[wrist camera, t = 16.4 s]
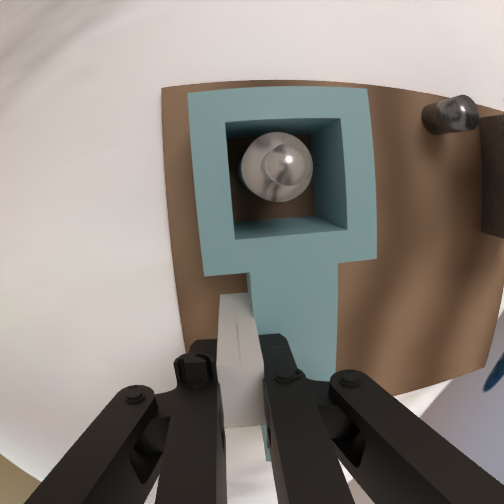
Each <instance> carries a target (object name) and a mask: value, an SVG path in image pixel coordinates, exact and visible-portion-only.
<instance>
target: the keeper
mask: <svg viewBox="0 0 504 504" xmlns="http://www.w3.org/2000/svg"><path fill="white" fill-rule="evenodd" d="M421 118H422V123H423V125H424V127H425V129H426V130H427V131H428V132H429V133H431V134H433V135H441V134H448V133H455V132H463V131H471V130H474V129H476V128H477V126H478V124H479V130H480V142H481V160H482V218H481V232H482V233H486V234H489V235H493V236H496V237H499V238H503V239H504V114H501V115H494V116H488V117H481V118H479V111H478V108H477V106H476V104H475V103H474V101H473V100H472V99H471V98H470V97H468V96H466V95H460V96H456V97H452V98H449V99H445V100H442V101H439V102H435V103H432V104H429V105H426V106H425V107H424V108H423V110H422V113H421Z"/></svg>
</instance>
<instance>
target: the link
mask: <svg viewBox="0 0 504 504" xmlns="http://www.w3.org/2000/svg"><path fill="white" fill-rule="evenodd" d="M187 94H188V111H189V126H190V139H191V152H192V164H193V176H194V187H195V197H196V207H197V217H198V227H199V236H200V245H201V253H202V262H203V270H204V277H205V276H216V275H227V274H237V273H246V276H247V288H248V293H249V295H250V300H251V306H252V311H253V317H254V318H255V322H256V327H257V332H258V335H265V334H277V333H280V334H281V335H283V336H284V337H285V338H287V341H288V344H289V346H290V349H291V352H292V354H293V357H294V360H295V363H296V365H297V368H298V369H300V370H302V371H303V372H304V374H305V375H306V378H308V379H311V380H316V381H330V377H331V376H332V375H333V374H334V373H335V369H336V347H337V313H338V263H344V262H353V261H362V260H371V259H377V209H376V182H375V165H374V151H373V139H372V128H371V118H370V110H369V101H368V93H367V89H364V88H349V87H326V86H273V87H250V88H234V89H222V90H211V91H202V92H193V93H187ZM272 132H282V133H287V134H290V135H297V134H309V135H310V147H311V158H312V162H313V188H314V205H315V215H314V216H301V217H288V218H276V219H264V220H253V221H242V222H233V213H232V201H231V190H230V178H229V166H228V154H227V142H226V139H230V138H242V137H256V136H262V135H265V134H267V133H272ZM261 427H262V434H263V441H264V448H265V454H266V461H271V457H270V451H269V448H267V424H266V425H261Z"/></svg>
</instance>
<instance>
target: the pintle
mask: <svg viewBox="0 0 504 504" xmlns="http://www.w3.org/2000/svg"><path fill="white" fill-rule="evenodd" d="M312 173H313V162H312V158H311V155H310V152H309V151H308V149H307V147H306V146H305V145H304V144H303V143H302V142H301V141H300V140H299V139H298V138H296V137H294V136H292V135H290V134H287V133H282V132H272V133H267V134H265V135H262V136H260V137H259V138H257V139H256V140H255V141H254V142H252V144H251V145H250V146H249V147H248V149H247V151H246V152H245V154H244V155H243V157H242V159H241V160H240V163H239V166H238V176H239V179H240V182H241V183H242V185H243V186H244V187H245V188H246V189H247V190H249V191H251V192H252V193H254V194H256V195H258V196H259V197H261V198H263V199H265V200H268V201H273V202H284V201H288V200H291V199H294V198H295V197H297V196H299V195H300V194H301V193H302V192H303V191H304V190H305V189H306V188H307V186H308V184H309V183H310V180H311V177H312Z"/></svg>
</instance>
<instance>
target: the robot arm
mask: <svg viewBox="0 0 504 504" xmlns="http://www.w3.org/2000/svg"><path fill="white" fill-rule="evenodd" d="M173 364H174V369H175V374H176V379H177V388H176V389H174V390H172V391H169V392H165V393H161V394H154V391H153V390H152V389H151V388H150V387H147V386H144V385H133V386H128V387H126V388H124V389H122V390H120V391H119V392H118V393H117V394H116V395H115V396H114V398H113V399H112V400H111V401H110V402H109V403H108V405H107V406H106V407H105V408H104V409H103V410H102V412H101V413H100V414H99V415H98V416H97V417H96V419H95V420H94V421H93V422H92V423H91V425H90V426H89V427H88V428H87V429H86V430H85V432H84V433H83V434H82V435H81V436H80V437H79V439H78V440H77V441H76V442H75V443H74V445H73V446H72V447H71V448H70V449H69V450H68V452H67V453H66V454H65V455H64V456H63V458H62V459H61V460H60V461H59V462H58V463H57V465H56V466H55V467H54V468H53V469H52V471H51V472H50V473H49V474H48V475H47V477H46V478H45V479H44V480H43V481H42V483H41V484H40V485H39V486H38V487H37V489H36V490H35V491H34V492H33V493H32V494H31V496H30V497H29V498H28V499H27V500H26V502H25V503H24V504H144V502H145V500H146V499H147V497H148V495H149V493H150V491H151V489H152V487H153V485H154V483H155V481H156V480H157V478H158V476H159V474H160V476H159V481H158V487H157V493H156V499H155V504H227V483H226V440H225V431H224V428H225V427H242V426H256V425H266V424H267V448H269V451H270V457H271V463H272V469H273V475H274V480H275V486H276V492H277V498H278V504H355V502H354V500H353V497H352V494H351V492H350V489H349V486H348V484H347V481H346V479H345V476H344V473H343V471H342V468H341V466H340V463H339V460H340V462H341V463H342V464H343V465H344V467H345V468H346V469H347V470H348V472H349V473H350V474H351V475H352V477H353V478H354V479H355V480H356V481H357V483H358V484H359V485H360V486H361V488H362V489H363V490H364V491H365V492H366V493H367V495H368V496H369V497H370V498H371V500H372V501H373V502H374V503H375V504H504V485H503V484H501V483H500V482H499V481H498V480H496V479H495V478H494V477H492V476H491V475H490V474H488V473H487V472H486V471H485V470H483V469H482V468H481V467H479V466H478V465H477V464H476V463H475V462H473V461H472V460H471V459H469V458H468V457H467V456H466V455H464V454H463V453H462V452H461V451H459V450H458V449H457V448H456V447H454V446H453V445H452V444H451V443H449V442H448V441H447V440H446V439H445V438H443V437H442V436H441V435H439V434H438V433H437V432H436V431H435V430H433V429H432V428H431V427H430V426H428V425H427V424H426V423H425V422H424V421H422V420H421V419H420V418H419V417H417V416H416V415H415V414H414V413H413V412H411V411H410V410H409V409H408V408H406V407H405V406H404V405H403V404H402V403H400V402H399V401H398V400H397V399H395V398H394V397H393V396H392V395H391V394H389V393H388V392H387V391H386V390H385V389H383V388H382V387H381V386H380V385H379V384H377V383H376V382H375V381H374V380H373V379H371V378H370V377H369V376H368V375H367V374H365V373H363V372H361V371H358V370H352V369H346V370H341V371H338V372H336V373H334V374H333V375H332V376H331V377H330V381H316V380H311V379H308V378H306V375H305V374H304V372H303V371H302V370H300V369H298V368H297V365H296V363H295V360H294V357H293V354H292V352H291V349H290V346H289V344H288V341H287V338H285V337H284V336H283V335H281V334H280V333H277V334H265V335H258V332H257V327H256V322H255V318H254V317H253V311H252V306H251V300H250V295H249V293H234V294H220V304H219V322H218V339H201V340H195V341H194V342H193V343H192V345H191V346H190V349H189V353H186V354H183V355H181V356H179V357H178V358H176V359H175V361H174V363H173ZM338 459H339V460H338Z"/></svg>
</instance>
